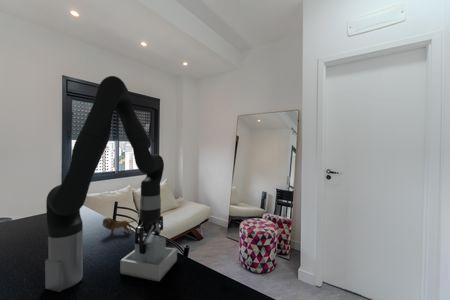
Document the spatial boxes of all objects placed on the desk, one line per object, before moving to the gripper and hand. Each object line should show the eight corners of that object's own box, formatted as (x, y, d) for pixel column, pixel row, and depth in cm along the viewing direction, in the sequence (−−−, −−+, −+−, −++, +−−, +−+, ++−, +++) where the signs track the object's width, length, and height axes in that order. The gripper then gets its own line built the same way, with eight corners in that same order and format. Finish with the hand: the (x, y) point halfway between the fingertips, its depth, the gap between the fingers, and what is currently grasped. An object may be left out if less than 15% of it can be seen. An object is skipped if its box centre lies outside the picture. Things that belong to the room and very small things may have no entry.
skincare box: (166, 263, 80) (166, 237, 79) (154, 273, 74) (153, 245, 73) (147, 256, 84) (146, 231, 84) (134, 265, 78) (133, 238, 78)
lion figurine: (101, 237, 102) (101, 220, 102) (103, 233, 107) (103, 216, 107) (133, 233, 107) (133, 216, 107) (134, 229, 112) (134, 213, 112)
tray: (159, 281, 71) (159, 267, 70) (120, 273, 75) (120, 260, 74) (176, 260, 83) (176, 248, 83) (142, 255, 87) (142, 243, 87)
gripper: (147, 213, 70) (146, 259, 70) (169, 202, 84) (168, 241, 84) (128, 210, 72) (128, 256, 72) (153, 200, 86) (152, 238, 86)
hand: (149, 247), depth 78 cm, fingers open, 8 cm apart
